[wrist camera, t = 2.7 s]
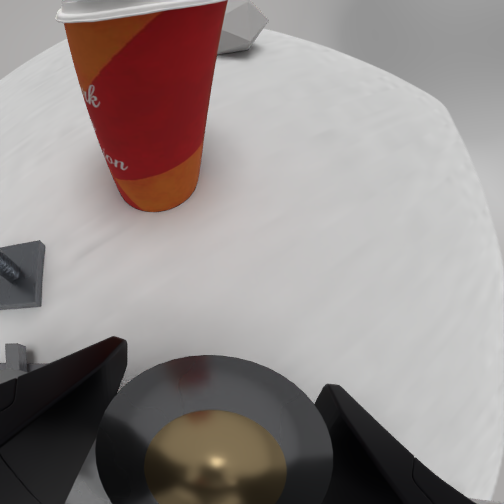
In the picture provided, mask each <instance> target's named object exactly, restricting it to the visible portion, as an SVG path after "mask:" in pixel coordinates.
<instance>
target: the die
mask: <svg viewBox="0 0 504 504" xmlns="http://www.w3.org/2000/svg"><path fill="white" fill-rule="evenodd" d="M268 21H269V20H268V19H267V18H266V16H265V15H264V14H263V13H262V12H261V11H260V10H259V9H258V8H257V7H256V6H255V5H254V4H253V2H252V1H251V0H228V2H227V7H226V11H225V16H224V21H223V26H222V31H221V36H220V41H219V46H218V52H217V55H218V54H224V53H230V52H237V51H244V50H248V49H249V48H250V47H251V45H252V44H253V42H254V41H255V39H256V38H257V37H258V35H259V34H260V32H261V31H262V30H263V28H264V27H265V25H266V24H267V22H268Z"/></svg>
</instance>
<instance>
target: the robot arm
mask: <svg viewBox="0 0 504 504" xmlns="http://www.w3.org/2000/svg"><path fill="white" fill-rule="evenodd" d="M126 367H127V341H126V340H125V339H122V338H119V337H116V336H112V337H110V338H107V339H105V340H103V341H101V342H98V343H96V344H94V345H91V346H89V347H87V348H84V349H82V350H80V351H78V352H75V353H73V354H71V355H68V356H66V357H64V358H61V359H59V360H57V361H54V362H52V363H49V364H47V365H45V366H42V367H40V368H38V369H35V370H33V371H30V372H28V373H26V374H23V375H21V376H18V378H13V379H11V380H8V381H6V382H3V383H1V384H0V504H65V502H66V500H67V498H68V496H69V493H70V491H71V489H72V487H73V485H74V483H75V480H76V478H77V476H78V474H79V472H80V470H81V468H82V466H83V464H84V462H85V460H86V458H87V455H88V453H89V451H90V449H91V447H92V445H93V443H94V441H95V439H96V436H97V432H98V428H99V424H100V422H101V419H102V417H103V415H104V412H105V410H106V409H107V407H108V406H109V404H110V402H111V401H112V399H113V398H114V397H115V396H116V394H117V391H118V389H119V386H120V383H121V381H122V378H123V376H124V373H125V371H126ZM314 405H315V406H316V408H317V409H318V411H319V412H320V414H321V416H322V418H323V420H324V422H325V424H326V426H327V429H328V432H329V435H330V438H331V443H332V450H333V469H332V476H331V480H330V484H329V487H328V490H327V493H326V495H325V497H324V499H323V501H322V503H321V504H477V503H475V502H473V501H472V500H470V499H469V498H467V497H466V496H464V495H463V494H461V493H460V492H458V491H457V490H456V489H454V488H453V487H451V486H450V485H449V484H447V483H446V482H444V481H443V480H442V479H440V478H439V477H438V476H437V475H435V474H434V473H433V472H432V471H431V470H429V469H428V468H427V467H426V466H425V465H424V464H422V463H421V462H420V461H419V460H418V459H417V458H414V455H412V454H411V453H410V452H409V451H408V450H407V449H406V448H405V447H404V446H403V445H402V444H401V443H399V442H398V441H397V440H396V439H395V438H394V437H393V436H392V435H391V434H390V433H389V432H388V431H387V430H386V429H385V428H383V427H382V426H381V425H380V424H379V423H378V422H377V421H376V420H375V419H374V418H373V417H372V416H371V415H370V414H369V413H368V412H367V411H366V410H365V409H364V408H363V407H362V406H361V405H359V404H358V403H357V402H356V401H355V400H354V399H353V398H352V397H351V396H350V395H349V394H348V393H347V392H346V391H345V390H344V389H343V388H342V387H341V386H340V385H336V384H326V385H325V386H324V387H323V389H322V391H321V393H320V394H319V396H318V398H317V400H316V402H315V404H314Z"/></svg>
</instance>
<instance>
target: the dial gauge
mask: <svg viewBox="0 0 504 504" xmlns="http://www.w3.org/2000/svg"><path fill="white" fill-rule="evenodd" d="M44 252H45V246H44V244H43V243H42V242H41V241H40V240H39V241H34V242H28V243H23V244H17V245H12V246H7V247H2V248H0V310H3V309H15V308H27V307H38V306H41V290H42V273H43V261H44Z"/></svg>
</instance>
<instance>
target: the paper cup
mask: <svg viewBox="0 0 504 504" xmlns="http://www.w3.org/2000/svg"><path fill="white" fill-rule="evenodd" d="M227 2H228V0H62V8H60V9H59V10H58V12H57V15H56V21H58V22H61V23H64V25H65V30H66V34H67V39H68V43H69V47H70V51H71V55H72V59H73V63H74V66H75V70H76V73H77V77H78V80H79V84H80V87H81V91H82V94H83V97H84V100H85V103H86V106H87V110H88V113H89V116H90V119H91V121H92V124H93V127H94V130H95V133H96V136H97V138H98V141H99V144H100V146H101V149H102V152H103V154H104V157H105V159H106V162H107V164H108V167H109V169H110V172H111V174H112V176H113V179H114V181H115V183H116V185H117V188H118V190H119V192H120V194H121V195H122V197H123V198H124V200H125V201H126V202H127V203H128V204H129V205H131V206H132V207H134V208H136V209H139V210H142V211H147V212H159V211H165V210H168V209H171V208H174V207H176V206H178V205H180V204H181V203H183V202H184V201H185V200H187V199H188V198H189V197H190V196H191V194H192V193H193V191H194V190H195V188H196V185H197V182H198V177H199V171H200V164H201V156H202V149H203V141H204V134H205V127H206V120H207V113H208V106H209V100H210V93H211V87H212V81H213V75H214V69H215V63H216V57H217V52H218V46H219V41H220V36H221V31H222V26H223V21H224V16H225V11H226V7H227Z"/></svg>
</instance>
